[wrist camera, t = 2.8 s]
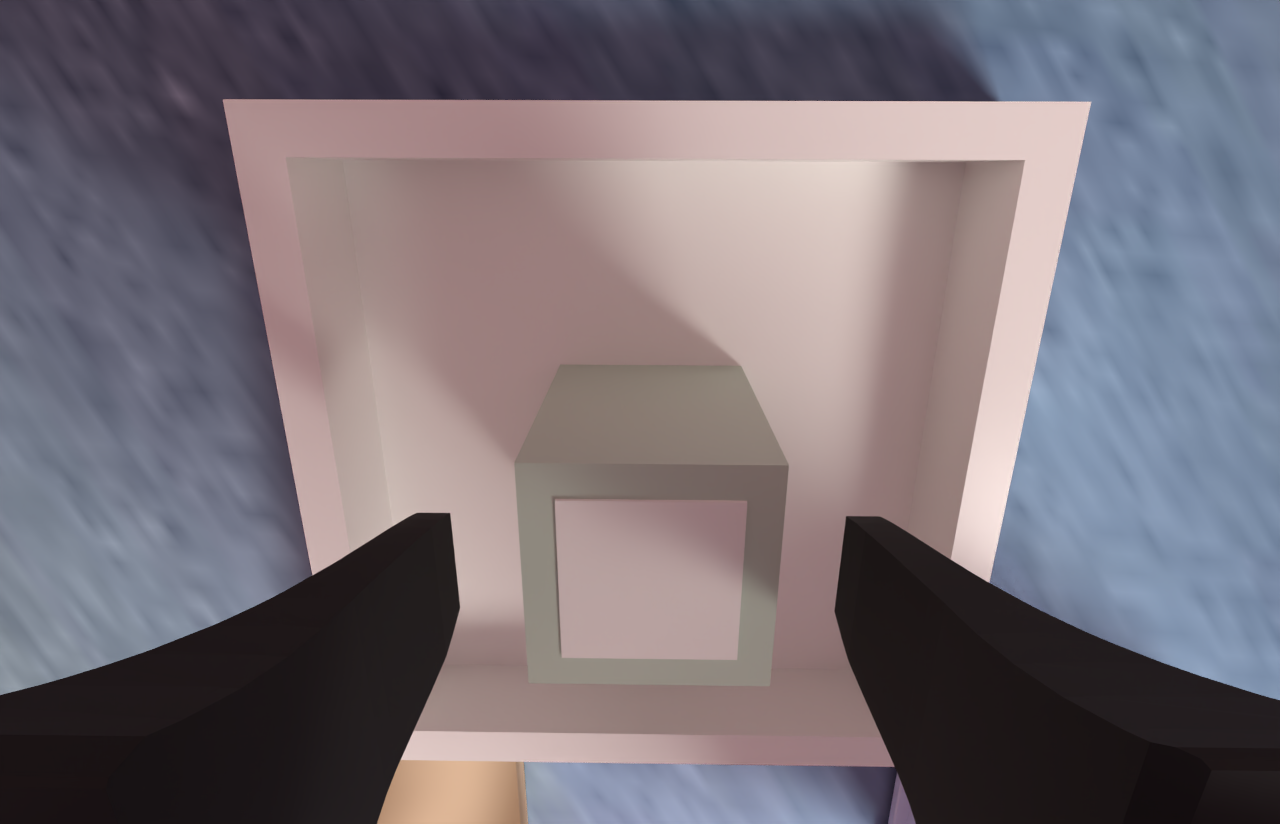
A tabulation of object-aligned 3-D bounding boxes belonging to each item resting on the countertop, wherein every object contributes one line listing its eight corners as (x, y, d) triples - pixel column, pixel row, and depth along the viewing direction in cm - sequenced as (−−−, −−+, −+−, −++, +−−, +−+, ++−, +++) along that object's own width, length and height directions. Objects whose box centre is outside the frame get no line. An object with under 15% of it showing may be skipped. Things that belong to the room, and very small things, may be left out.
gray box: (740, 365, 17) (789, 466, 11) (731, 525, 18) (770, 688, 12) (560, 364, 17) (513, 464, 11) (566, 524, 18) (528, 686, 12)
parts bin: (1007, 115, 15) (1090, 101, 12) (908, 685, 20) (949, 767, 18) (302, 113, 15) (222, 99, 12) (388, 678, 21) (347, 759, 18)
